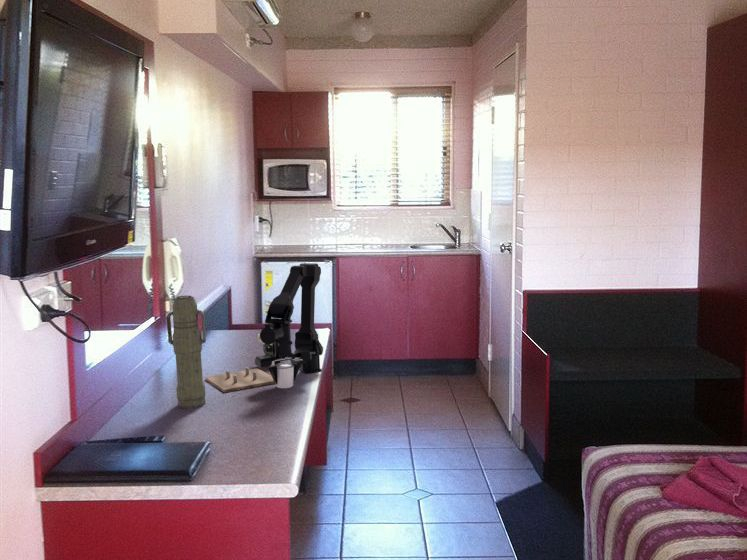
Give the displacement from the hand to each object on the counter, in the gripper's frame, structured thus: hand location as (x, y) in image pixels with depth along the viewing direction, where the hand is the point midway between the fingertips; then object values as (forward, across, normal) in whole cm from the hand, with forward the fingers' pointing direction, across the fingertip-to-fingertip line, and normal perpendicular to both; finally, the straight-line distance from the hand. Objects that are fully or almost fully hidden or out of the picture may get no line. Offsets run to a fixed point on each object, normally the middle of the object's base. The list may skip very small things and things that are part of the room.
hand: (284, 382), depth 269 cm
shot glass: (+1, 0, 0) cm, 1 cm away
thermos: (+1, +33, +1) cm, 33 cm away
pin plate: (+1, +10, -15) cm, 18 cm away
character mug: (+1, -10, -34) cm, 35 cm away
